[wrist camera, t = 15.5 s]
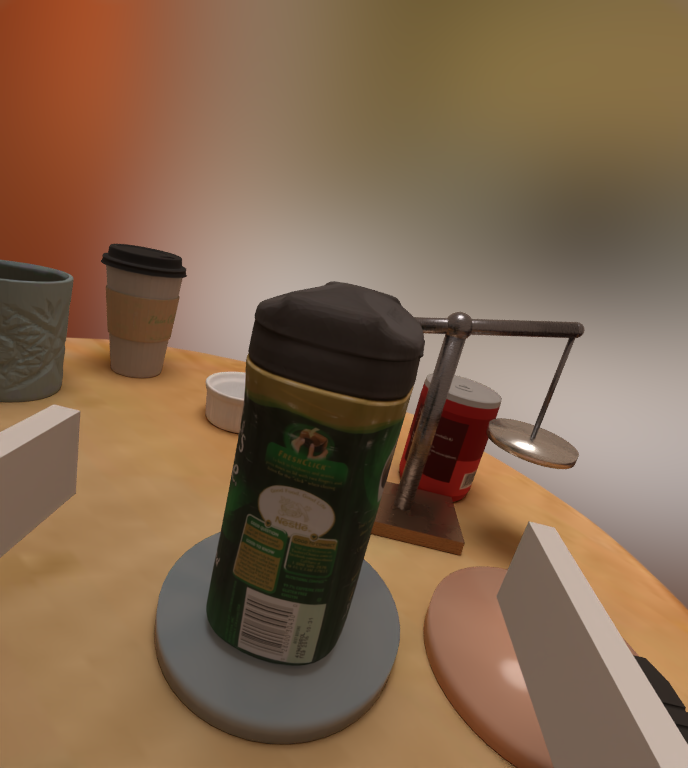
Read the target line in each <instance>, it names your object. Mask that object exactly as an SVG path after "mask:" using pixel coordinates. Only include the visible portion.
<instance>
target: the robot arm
mask: <svg viewBox="0 0 688 768" xmlns="http://www.w3.org/2000/svg"><path fill="white" fill-rule="evenodd" d="M79 424H80V411H78V410H74V409H70V408H66V407H62V406H58V405H52V406H50V407H48V408H46V409H44V410H42V411H40V412H38V413H36V414H34V415H33V416H31V417H29V418H27V419H25V420H23V421H21V422H19V423H17V424H15V425H13V426H11V427H9V428H7V429H6V430H4V431H2V432H0V557H2V556H3V555H4V554H5V553H6V552H7V551H9V550H10V549H11V548H12V547H13V546H14V545H16V544H17V543H18V542H19V541H20V540H22V539H23V538H24V537H25V536H26V535H27V534H29V533H30V532H31V531H32V530H33V529H34V528H36V527H37V526H38V525H39V524H40V523H41V522H43V521H44V520H45V519H46V518H47V517H49V516H50V515H51V514H52V513H53V512H54V511H56V510H57V509H58V508H59V507H60V506H61V505H63V504H64V503H65V502H66V501H67V500H69V499H70V498H71V497H72V496H73V495H74V494H76V478H77V460H78V442H79ZM496 597H497V600H498V603H499V606H500V609H501V612H502V615H503V618H504V621H505V624H506V627H507V630H508V633H509V636H510V639H511V642H512V645H513V648H514V651H515V654H516V657H517V660H518V663H519V666H520V669H521V672H522V675H523V678H524V681H525V684H526V687H527V690H528V693H529V696H530V699H531V702H532V705H533V708H534V711H535V714H536V717H537V719H538V722H539V725H540V728H541V731H542V734H543V737H544V740H545V743H546V746H547V749H548V752H549V755H550V758H551V761H552V764H553V767H554V768H688V712H686V711H685V708H686V707H685V706H684V704H683V703H682V701H681V700H680V698H679V697H678V695H677V694H676V692H675V691H674V689H673V688H672V686H671V685H670V683H669V682H668V681H667V680H666V679H665V678H664V677H663V676H662V675H661V674H660V673H659V671H658V670H657V669H656V668H655V667H654V666H653V665H652V664H651V663H650V662H649V661H648V660H647V659H646V658H643V657H639V656H635V655H632V653H631V651H630V650H629V648H628V646H627V645H626V643H625V641H624V640H623V638H622V637H621V635H620V633H619V632H618V630H617V628H616V627H615V625H614V624H613V622H612V620H611V619H610V617H609V615H608V614H607V612H606V611H605V609H604V607H603V606H602V604H601V602H600V601H599V599H598V598H597V596H596V594H595V593H594V591H593V589H592V588H591V586H590V584H589V583H588V581H587V580H586V578H585V576H584V575H583V573H582V571H581V570H580V568H579V567H578V565H577V563H576V562H575V560H574V558H573V557H572V555H571V554H570V552H569V550H568V549H567V547H566V545H565V544H564V542H563V541H562V539H561V537H560V536H559V534H558V532H557V531H556V529H555V528H553V527H549V526H545V525H541V524H537V523H533V522H528V524H527V527H526V529H525V531H524V534H523V536H522V538H521V541H520V543H519V545H518V547H517V550H516V552H515V554H514V557H513V559H512V561H511V564H510V566H509V568H508V571H507V573H506V575H505V577H504V580H503V582H502V584H501V587H500V589H499V591H498V594H497V596H496Z"/></svg>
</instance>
